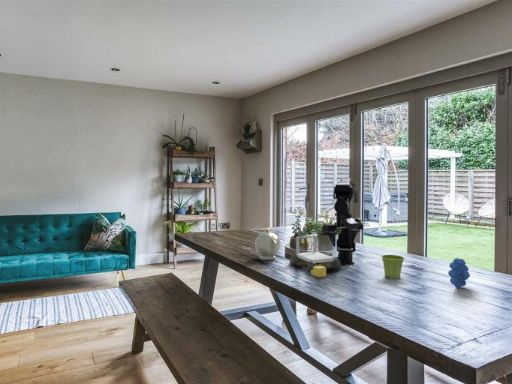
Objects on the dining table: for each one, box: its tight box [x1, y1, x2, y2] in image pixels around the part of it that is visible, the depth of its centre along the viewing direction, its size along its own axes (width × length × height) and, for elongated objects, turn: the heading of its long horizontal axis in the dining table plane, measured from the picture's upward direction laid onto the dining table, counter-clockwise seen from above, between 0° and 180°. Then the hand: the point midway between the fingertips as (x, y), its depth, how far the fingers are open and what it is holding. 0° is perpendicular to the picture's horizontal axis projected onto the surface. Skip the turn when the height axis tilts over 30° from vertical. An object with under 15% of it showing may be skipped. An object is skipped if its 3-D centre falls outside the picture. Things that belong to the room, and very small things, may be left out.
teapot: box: [254, 227, 281, 261], centre depth 195 cm, size 18×14×16 cm
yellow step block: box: [310, 265, 327, 278], centre depth 163 cm, size 4×6×4 cm, turn 23°
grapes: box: [447, 257, 471, 289], centre depth 142 cm, size 12×7×12 cm, turn 123°
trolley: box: [289, 234, 342, 274], centre depth 178 cm, size 21×15×14 cm
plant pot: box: [380, 254, 406, 280], centre depth 160 cm, size 9×9×9 cm
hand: (342, 246), depth 167 cm, fingers open, 9 cm apart
